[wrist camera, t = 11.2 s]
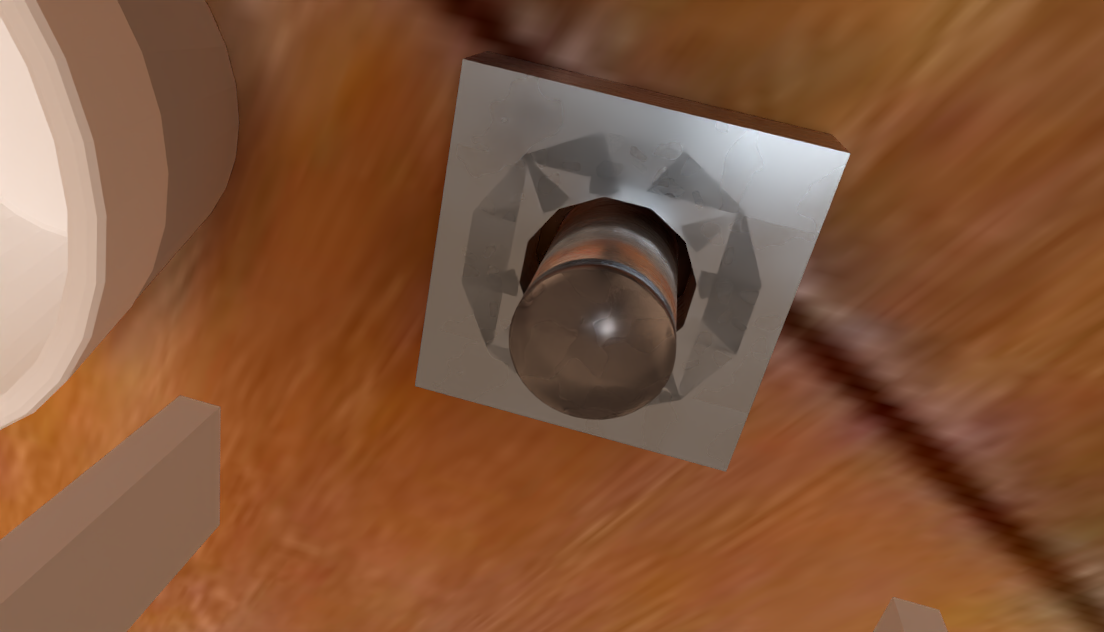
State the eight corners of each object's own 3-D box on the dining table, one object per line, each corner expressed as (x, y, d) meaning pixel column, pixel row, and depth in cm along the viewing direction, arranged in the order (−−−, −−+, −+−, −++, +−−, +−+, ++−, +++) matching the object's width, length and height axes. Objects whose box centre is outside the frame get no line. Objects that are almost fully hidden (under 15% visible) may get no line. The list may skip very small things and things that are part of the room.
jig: (487, 51, 25) (462, 59, 22) (832, 135, 24) (850, 153, 22) (439, 350, 30) (414, 385, 28) (722, 427, 30) (725, 471, 27)
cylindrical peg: (569, 178, 26) (525, 249, 19) (694, 209, 26) (697, 293, 19) (543, 292, 28) (495, 395, 21) (659, 322, 28) (650, 437, 21)
